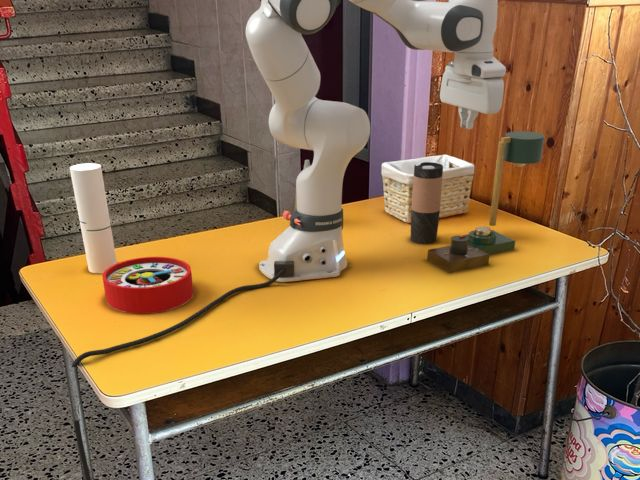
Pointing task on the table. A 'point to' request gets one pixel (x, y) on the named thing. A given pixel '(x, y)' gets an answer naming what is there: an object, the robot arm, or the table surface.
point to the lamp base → (491, 242)
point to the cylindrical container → (93, 216)
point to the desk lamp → (515, 159)
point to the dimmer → (457, 259)
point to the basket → (452, 191)
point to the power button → (482, 231)
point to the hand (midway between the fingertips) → (466, 128)
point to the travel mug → (426, 202)
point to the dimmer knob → (459, 244)
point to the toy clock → (148, 284)
